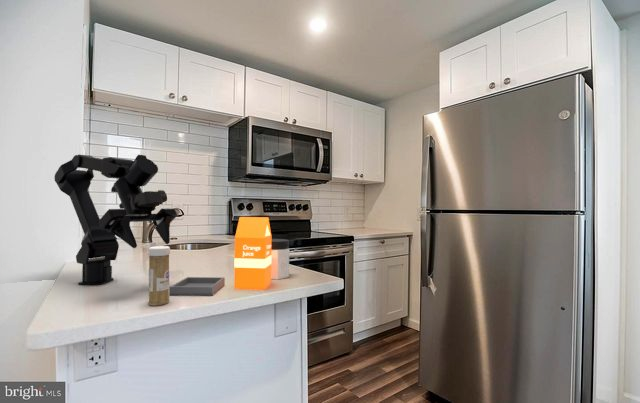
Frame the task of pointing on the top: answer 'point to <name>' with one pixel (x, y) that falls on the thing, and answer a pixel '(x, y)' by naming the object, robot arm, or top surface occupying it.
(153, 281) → the spice shaker
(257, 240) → the orange juice
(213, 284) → the tray
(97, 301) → the top surface
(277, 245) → the jar
